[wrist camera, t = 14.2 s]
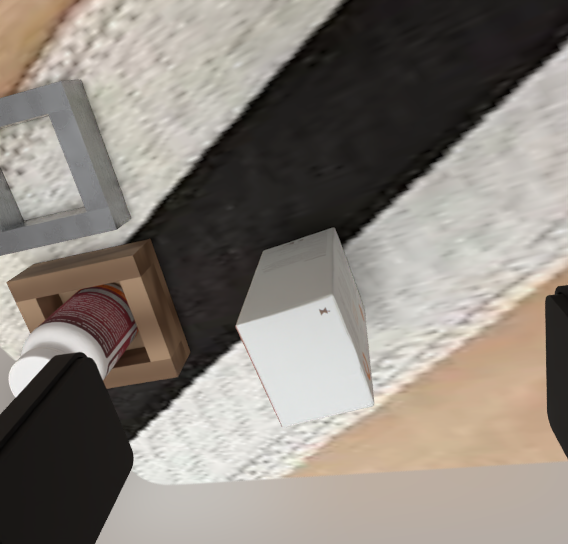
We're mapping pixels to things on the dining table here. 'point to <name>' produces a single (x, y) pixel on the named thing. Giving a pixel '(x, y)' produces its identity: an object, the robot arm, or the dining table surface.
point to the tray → (140, 296)
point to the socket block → (82, 162)
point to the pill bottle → (79, 333)
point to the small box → (308, 330)
